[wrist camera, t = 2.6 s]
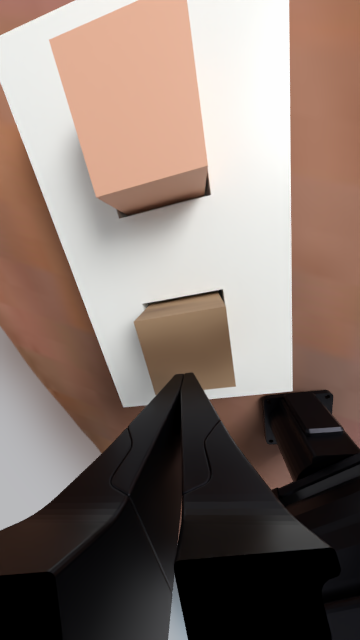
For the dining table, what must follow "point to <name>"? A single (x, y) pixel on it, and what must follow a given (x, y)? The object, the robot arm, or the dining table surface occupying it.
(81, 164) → the key panel
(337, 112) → the dining table surface
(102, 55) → the terracotta key
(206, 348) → the walnut key
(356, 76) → the dining table surface
